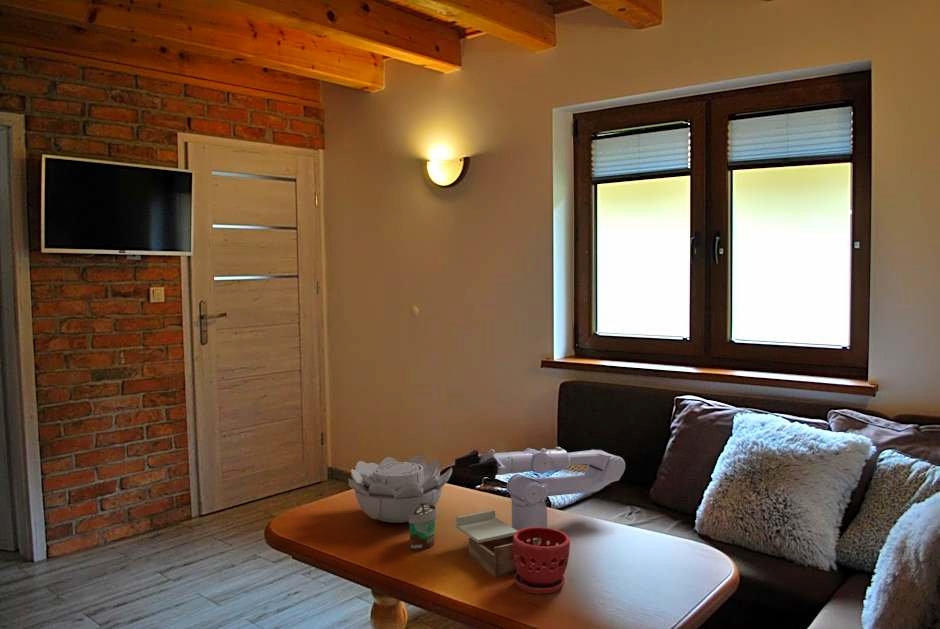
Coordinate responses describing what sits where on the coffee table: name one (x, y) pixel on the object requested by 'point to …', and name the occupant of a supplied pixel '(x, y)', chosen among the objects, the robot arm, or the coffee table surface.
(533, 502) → the robot arm
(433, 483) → the decorative bowl
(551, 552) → the plant pot
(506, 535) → the lid
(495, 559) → the box
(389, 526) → the coffee table surface
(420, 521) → the food container
